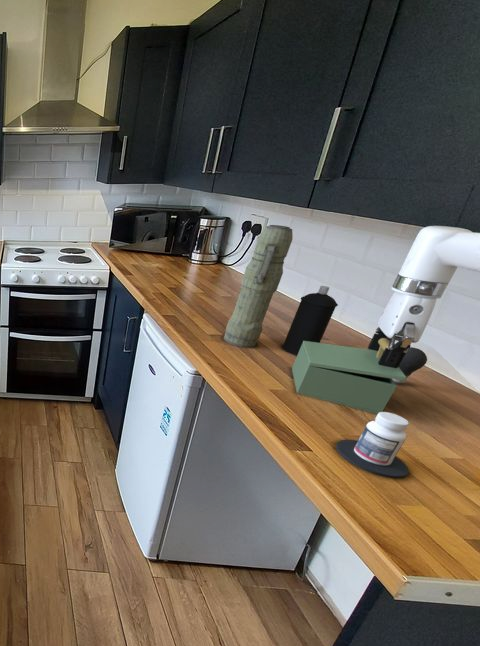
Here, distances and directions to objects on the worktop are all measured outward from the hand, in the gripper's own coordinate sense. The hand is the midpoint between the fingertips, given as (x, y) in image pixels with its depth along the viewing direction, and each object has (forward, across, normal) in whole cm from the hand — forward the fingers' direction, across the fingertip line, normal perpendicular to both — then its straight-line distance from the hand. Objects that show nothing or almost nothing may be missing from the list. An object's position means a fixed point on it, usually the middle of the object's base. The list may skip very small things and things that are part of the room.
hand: (381, 358), depth 92 cm
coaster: (+11, -29, +4) cm, 31 cm away
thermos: (+11, +20, +26) cm, 34 cm away
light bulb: (+11, +15, -9) cm, 21 cm away
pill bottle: (+10, -29, +4) cm, 31 cm away
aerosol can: (+11, +23, +11) cm, 28 cm away
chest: (+11, 0, +6) cm, 12 cm away
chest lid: (+2, 0, +5) cm, 6 cm away
